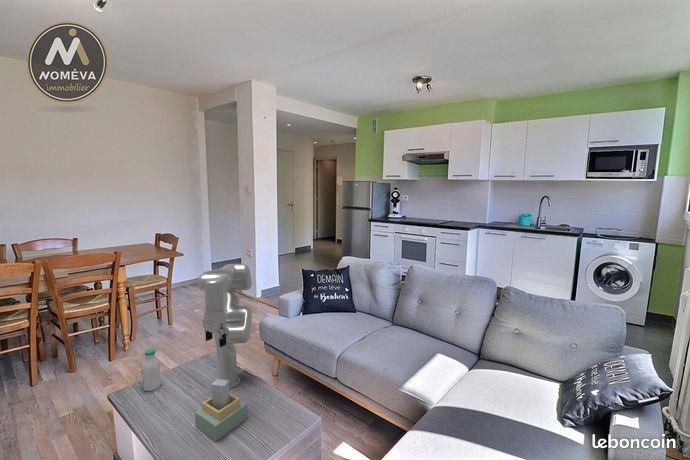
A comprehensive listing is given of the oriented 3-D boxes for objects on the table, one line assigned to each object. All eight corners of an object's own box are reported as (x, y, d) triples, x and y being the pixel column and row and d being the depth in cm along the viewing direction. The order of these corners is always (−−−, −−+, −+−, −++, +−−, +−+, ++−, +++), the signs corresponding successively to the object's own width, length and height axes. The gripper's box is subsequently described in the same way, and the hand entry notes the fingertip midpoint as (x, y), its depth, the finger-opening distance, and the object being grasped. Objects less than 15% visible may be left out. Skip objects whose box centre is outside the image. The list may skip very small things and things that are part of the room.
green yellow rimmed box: (226, 406, 153) (226, 385, 151) (247, 418, 145) (246, 396, 144) (195, 427, 139) (194, 404, 138) (216, 441, 132) (215, 418, 131)
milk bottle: (164, 384, 168) (162, 348, 165) (151, 393, 161) (148, 355, 158) (153, 381, 170) (150, 345, 167) (139, 389, 163) (137, 352, 160)
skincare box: (230, 404, 143) (229, 379, 142) (225, 411, 139) (224, 385, 138) (216, 403, 144) (216, 378, 142) (212, 410, 140) (211, 384, 138)
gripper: (195, 304, 144) (196, 340, 147) (220, 313, 135) (221, 352, 138) (210, 299, 150) (211, 334, 153) (234, 308, 141) (235, 344, 144)
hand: (215, 342), depth 145 cm, fingers open, 9 cm apart
